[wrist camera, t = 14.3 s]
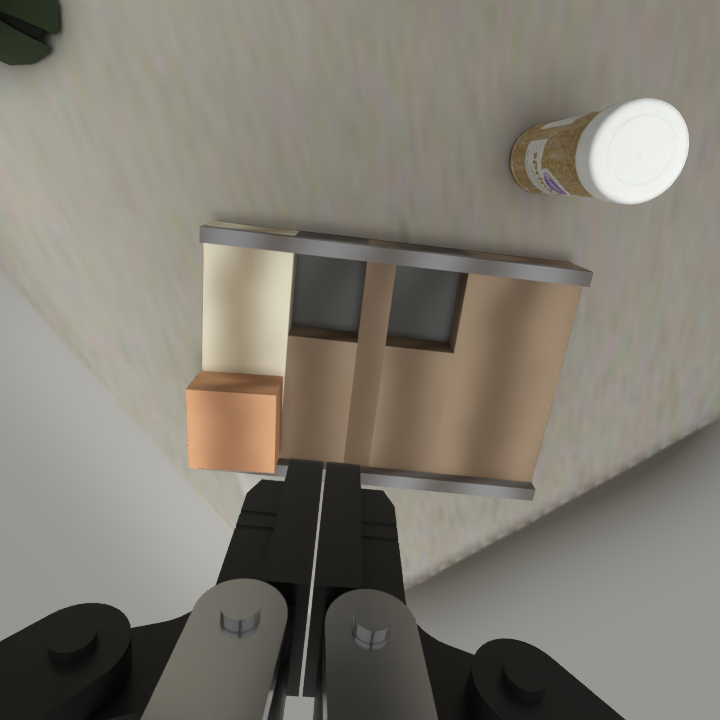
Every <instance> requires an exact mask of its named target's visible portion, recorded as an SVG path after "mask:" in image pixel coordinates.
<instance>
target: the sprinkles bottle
mask: <svg viewBox="0 0 720 720" xmlns="http://www.w3.org/2000/svg"><path fill="white" fill-rule="evenodd" d="M688 150H689V135H688V129H687V126H686V123H685V121H684V119H683V117H682V116H681V114H680V113H679V112H678V110H677V109H675V108H674V107H673V106H672V105H670V104H668V103H667V102H664V101H662V100H659V99H654V98H640V99H634V100H629V101H625V102H620V103H617V104H615V105H612V106H610V107H608V108H606V109H605V110H603V111H600V112H599V111H598V112H590V113H585V114H581V115H577V116H573V117H570V118H566V119H562V120H558V121H554V122H551V123H549V124H540V125H536V126H535V127H532V128H530V129H528V130H527V131H526V132H525V133H523V134H522V135H521V136H520V137H519V138H518V139H517V141H516V143H515V145H514V147H513V149H512V154H511V159H510V168H511V172H512V175H513V176H514V179H515V180H516V182H517V184H518V185H519V186H520V187H521V188H523V189H525V190H526V191H529V192H532V193H539V194H542V193H548V194H553V195H563V196H583V197H594V198H597V199H599V200H601V201H604V202H608V203H615V204H638V203H642V202H646V201H648V200H651V199H653V198H655V197H657V196H658V195H660V194H661V193H663V192H664V191H665V190H666V189H668V188H669V187H670V186H671V185H672V184H673V182H674V181H675V180H676V179H677V177H678V176H679V174H680V172H681V171H682V169H683V167H684V164H685V162H686V159H687V155H688Z"/></svg>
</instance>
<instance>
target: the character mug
mask: <svg viewBox="0 0 720 720" xmlns="http://www.w3.org/2000/svg"><path fill="white" fill-rule="evenodd" d="M42 29H44V30H47V31H49V32H51V33H54V34H56V35H57V33H58V31H59V17H58V4H57V2H56V0H0V61H1V62H4V63H6V64H9V65H20V64H33V63H34V62H36V61H37V60H39V59H40V58H42V57H43V56H45V55H46V54H48V53H49V51H50V47H48V46H46V45H44V44H42V43H40V42H38V41H36V40H37V39H38V38H39V37H40V36H41V35H42Z"/></svg>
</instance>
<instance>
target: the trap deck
mask: <svg viewBox="0 0 720 720" xmlns="http://www.w3.org/2000/svg"><path fill="white" fill-rule="evenodd" d="M200 242H201V243H204V275H203V348H202V371H213V372H227V373H242V374H256V375H271V376H283V400H282V433H281V451H280V454H279V458H278V462H277V465H276V469H275V473H262V472H246V471H230V470H215V471H226V472H236V473H247V474H257V475H268V476H279V477H286V473H287V469H288V465H289V460H290V458H295V459H305V460H315V461H324V464H323V474H322V481H325V474H326V465H327V462H337V463H348V464H358V465H360V473H361V484H363V485H373V486H384V487H395V488H405V489H416V490H426V491H437V492H447V493H458V494H468V495H479V496H489V497H500V498H511V499H521V500H533V497H534V493H535V488H534V486H533V485H532V483H531V482H532V478H533V474H534V470H535V466H536V462H537V459H538V455H539V451H540V447H541V443H542V440H543V436H544V432H545V428H546V424H547V420H548V417H549V413H550V409H551V405H552V401H553V398H554V394H555V390H556V386H557V382H558V379H559V375H560V371H561V367H562V363H563V359H564V356H565V352H566V348H567V344H568V340H569V337H570V333H571V329H572V325H573V321H574V317H575V314H576V310H577V306H578V302H579V298H580V295H581V291H582V287H583V286H585V287H590V283H591V279H592V275H593V272H592V271H589V270H587V269H584V268H582V267H580V266H577V265H575V264H573V263H570V262H562V261H553V260H545V259H536V258H527V257H519V256H510V255H502V254H493V253H484V252H476V251H467V250H459V249H450V248H442V247H433V246H424V245H416V244H407V243H399V242H390V241H381V240H373V239H364V238H356V237H347V236H339V235H330V234H321V233H313V232H304V231H296V230H287V229H278V228H270V227H261V226H253V225H244V224H236V223H227V222H218V221H215V222H212V223H209V224H206V225H203V226H200ZM197 469H198V468H197ZM205 470H214V469H205Z"/></svg>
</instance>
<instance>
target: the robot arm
mask: <svg viewBox="0 0 720 720" xmlns="http://www.w3.org/2000/svg"><path fill="white" fill-rule="evenodd" d="M323 464H324V461H315V460H305V459H295V458H290V460H289V465H288V469H287V473H286V478H285V481H274V480H263V479H262V480H261V481H260V482H259V483H257V484H256V485H255V486H254V487H253V488H252V489H251V490H250V491H249V492H248V493H247V494H246V497H245V500H244V503H243V506H242V509H241V514H240V515H239V518H238V521H237V524H236V528H235V530H234V533H233V536H232V539H231V542H230V545H229V547H228V551H227V553H226V556H225V559H224V562H223V565H222V568H221V571H220V574H219V577H218V580H217V583H216V585H215V586H214V587H212V588H211V589H209V590H208V591H206V592H205V593H204V594H203V595H202V596H201V597H200V598H199V600H198V601H197V602H196V604H195V606H194V608H193V610H192V611H191V612H189V613H187V614H185V615H183V616H181V617H178V618H176V619H173V620H169V621H166V622H161V623H156V624H150V625H145V626H140V627H134V628H130V623H129V621H128V619H127V617H126V616H125V614H124V613H122V612H121V611H120V610H119V609H117V608H115V607H113V606H110V605H106V604H100V603H85V604H78V605H74V606H70V607H67V608H64V609H61V610H58V611H57V612H54V613H52V614H50V615H48V616H46V617H45V618H43V619H41V620H39V621H37V622H35V623H33V624H32V625H30V626H28V627H26V628H24V629H23V630H21V631H19V632H17V633H15V634H13V635H11V636H10V637H8V638H6V639H4V640H2V641H1V642H0V720H283V715H284V707H285V699H286V695H287V696H299V686H300V677H301V667H302V659H303V649H304V640H305V632H306V623H307V614H308V604H309V595H310V586H311V577H312V568H313V559H314V550H315V540H316V531H317V522H318V512H319V502H320V493H321V483H322V474H323ZM303 696H305V697H315V701H314V715H313V720H625V719H624V718H622V716H620V715H619V714H618V713H617V712H616V711H614V710H613V709H612V708H611V707H610V706H608V705H607V704H606V703H605V702H604V701H602V700H601V699H600V698H599V697H598V696H596V695H595V694H594V693H593V692H592V691H590V690H589V689H588V688H587V687H586V686H585V685H583V684H582V683H581V682H580V681H579V680H577V679H576V678H575V677H574V676H573V675H571V674H570V673H569V672H568V671H567V670H566V669H564V668H563V667H562V666H560V664H558V663H557V662H556V661H555V660H554V659H552V658H551V657H550V656H549V655H547V654H546V653H545V652H543V651H542V650H540V649H538V648H537V647H535V646H532V645H530V644H528V643H526V642H522V641H519V640H514V639H495V640H492V641H489V642H487V643H485V644H484V645H482V646H481V647H480V648H479V649H478V650H477V652H476V654H475V655H473V654H471V653H468V652H465V651H462V650H460V649H457V648H454V647H452V646H449V645H446V644H444V643H442V642H440V641H438V640H436V639H435V638H433V637H431V636H430V635H429V634H427V633H426V632H425V631H423V630H422V629H421V628H420V627H419V626H418V625H417V623H416V620H415V618H414V616H413V614H412V612H411V611H410V610H409V609H408V607H407V606H406V601H405V593H404V584H403V576H402V567H401V559H400V550H399V543H398V533H397V528H396V515H395V507H394V505H393V504H392V502H391V501H390V500H389V498H388V497H387V496H386V494H385V493H384V491H381V490H371V489H361V473H360V465H358V464H348V463H337V462H327V465H326V474H325V483H324V493H323V502H322V511H321V521H320V530H319V540H318V549H317V559H316V569H315V579H314V588H313V598H312V608H311V618H310V628H309V639H308V648H307V657H306V667H305V678H304V687H303Z"/></svg>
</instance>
